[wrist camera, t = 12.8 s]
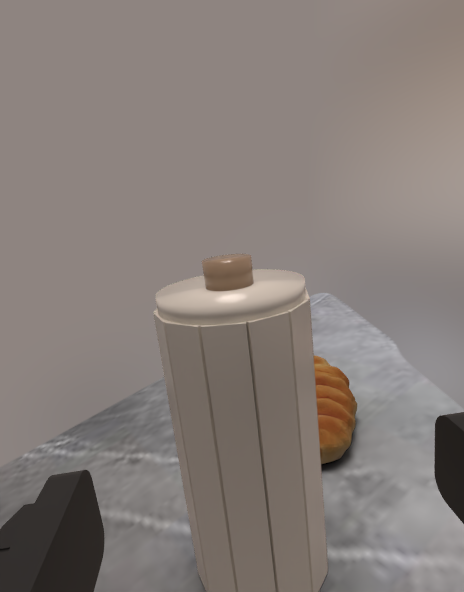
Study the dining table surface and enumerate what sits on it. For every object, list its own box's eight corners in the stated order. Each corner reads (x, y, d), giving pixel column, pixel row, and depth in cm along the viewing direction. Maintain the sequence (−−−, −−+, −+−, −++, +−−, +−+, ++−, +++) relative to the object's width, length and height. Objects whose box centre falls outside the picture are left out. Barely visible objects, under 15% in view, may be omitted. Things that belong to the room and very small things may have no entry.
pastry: (380, 471, 22) (378, 412, 21) (261, 479, 22) (254, 421, 22) (342, 390, 31) (340, 346, 30) (259, 397, 32) (254, 354, 31)
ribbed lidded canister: (231, 653, 14) (174, 285, 10) (183, 537, 19) (134, 263, 16) (354, 577, 16) (339, 251, 13) (281, 491, 21) (257, 242, 18)
